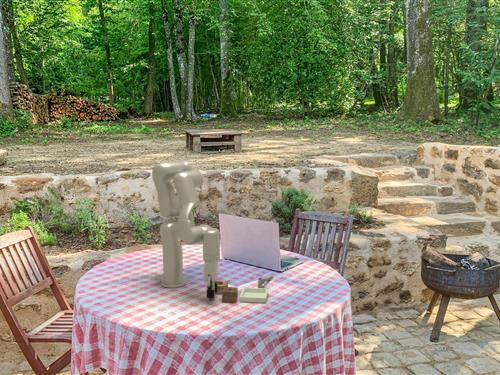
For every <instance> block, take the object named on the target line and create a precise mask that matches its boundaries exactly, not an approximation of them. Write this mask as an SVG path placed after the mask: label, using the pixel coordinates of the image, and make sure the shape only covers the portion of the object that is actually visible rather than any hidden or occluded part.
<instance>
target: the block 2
mask: <svg viewBox="0 0 500 375" xmlns="http://www.w3.org/2000/svg"><path fill="white" fill-rule="evenodd" d="M238 290H239V289H238V287H236V286H235V287H233V286H228V287H224V289H223V291H222V294H221V302H222V303H225V304H226V303H227V304H236V303H237V300H238V298H239V297H238V296H239V294H238V292H239V291H238Z"/></svg>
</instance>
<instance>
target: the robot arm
mask: <svg viewBox="0 0 500 375" xmlns="http://www.w3.org/2000/svg"><path fill="white" fill-rule="evenodd" d="M151 177H152V181H153V184H154V187H155V189H156V193H157V195H156V196H157V202H158V207H159V212H160V213H159V214H160V215H161V216H162V218H166V219H168V218H175V217H178V218H177V219H176V218H175V219H171V220H167V221H165V222H163V223H162V224H161V225H160V227H159V233H160V238H161V245H162V265H163V266H162V268H163V269H162V270H163V272H162V274H160V273H159V274H157V273H156V274H155V276H154V278H155V279H156V280H161V281H160V283H159V284H160V286H161V287H164V288H167V289H168V288H171V289H174V288H181V287H183V286H185V285H186V284H187V279H186V278H184V260H183V259H184V256H183V252H184V251H183V246H182V244H181V243H180V241H179V240H180V239H182V240H183V241H184V243H185V244H186V245H189V246H190V245H195V244H199V243H202V260H203V262H204V264H203V266H204V267H203V283H204V284H206V298H207V299H209V298H214V289H213V285H214V283H215V292H217V284H216V283H217V279H218V277H219V261H221V234H220V230H219V229H218V228H215V227H212V226H210V225H208V224H201V225H195V217H194V213H193V212H194V211H193V210H194V208H196V207H197V206H198V205H199V204H200V198H199V195H198V193H197V190H196V189H198V188H201V187H202V186H203V184H204V176H203V174H202V173H201V171H200V170H199V169H198V168H197V167H196V166H194V165H192V164H191V163H190V162H188V161H186V160H183V159H181V160H167V161H161V162H158V163H157V164H155V165H154V166H153V168H152V172H151ZM170 180H173V184H174V185H173V184H172V182H171V181H170ZM176 193H177V195H176ZM210 282H212V283H210ZM210 284H212V286H211V285H210Z"/></svg>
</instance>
